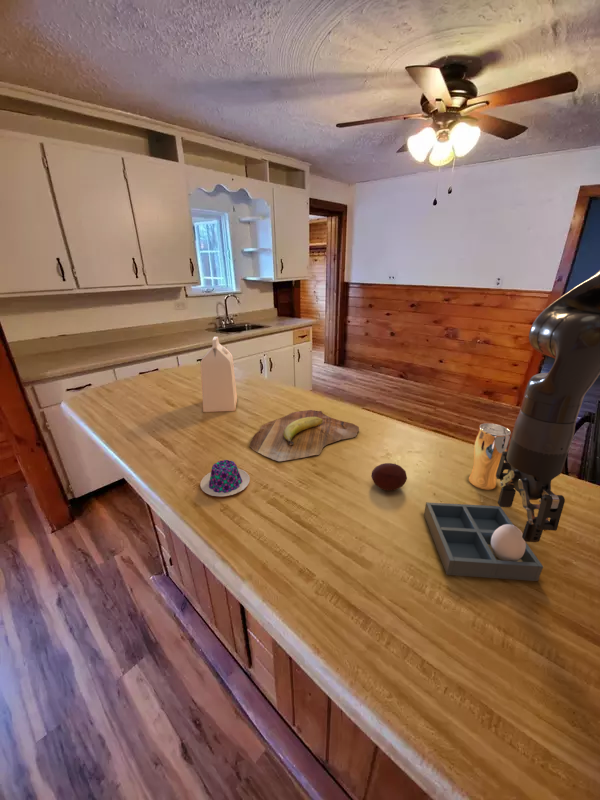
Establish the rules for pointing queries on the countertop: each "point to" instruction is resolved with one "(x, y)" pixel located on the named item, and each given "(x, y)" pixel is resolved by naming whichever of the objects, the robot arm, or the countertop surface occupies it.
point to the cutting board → (300, 435)
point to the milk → (218, 379)
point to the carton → (475, 542)
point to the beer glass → (488, 454)
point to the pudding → (224, 479)
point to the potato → (389, 476)
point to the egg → (508, 543)
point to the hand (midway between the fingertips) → (516, 521)
